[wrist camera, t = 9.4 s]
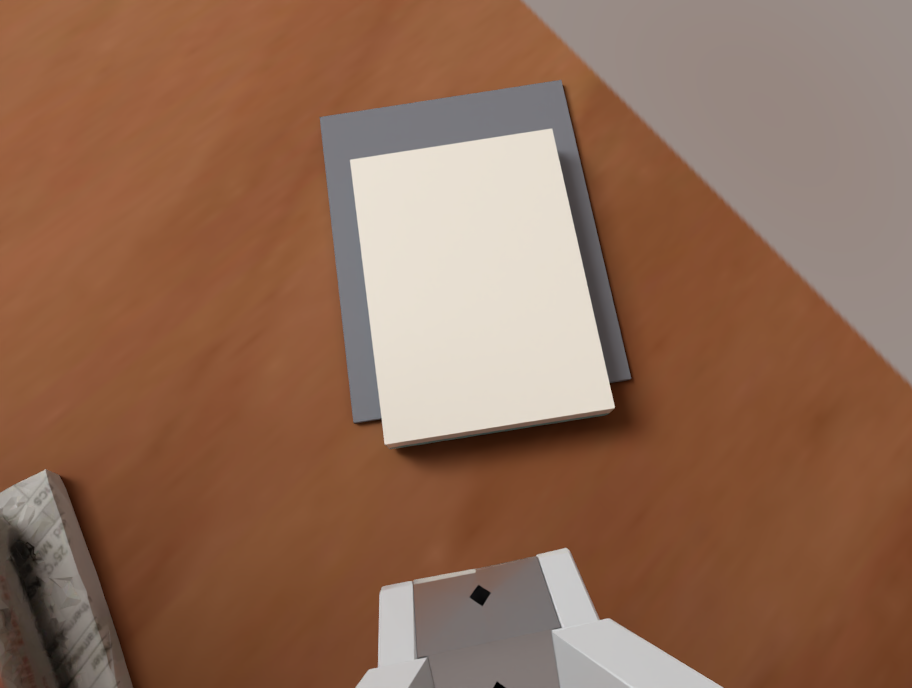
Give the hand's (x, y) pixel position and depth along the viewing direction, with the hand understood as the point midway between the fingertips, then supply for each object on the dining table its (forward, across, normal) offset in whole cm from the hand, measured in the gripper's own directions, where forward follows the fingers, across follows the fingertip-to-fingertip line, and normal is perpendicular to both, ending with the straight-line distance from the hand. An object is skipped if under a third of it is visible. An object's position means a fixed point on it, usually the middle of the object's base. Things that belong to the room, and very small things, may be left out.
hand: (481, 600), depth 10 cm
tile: (+17, -2, +6) cm, 18 cm away
